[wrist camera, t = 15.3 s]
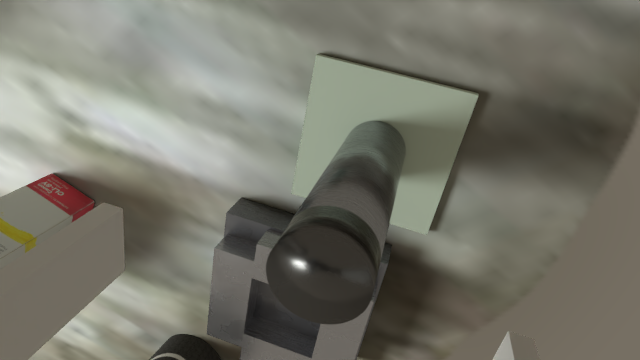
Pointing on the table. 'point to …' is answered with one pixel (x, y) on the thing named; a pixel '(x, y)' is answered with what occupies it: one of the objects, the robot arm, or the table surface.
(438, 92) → the mat
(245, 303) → the block
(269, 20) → the table surface
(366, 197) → the dark glossy cylinder
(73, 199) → the ink box
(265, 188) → the table surface
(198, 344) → the coffee cup
